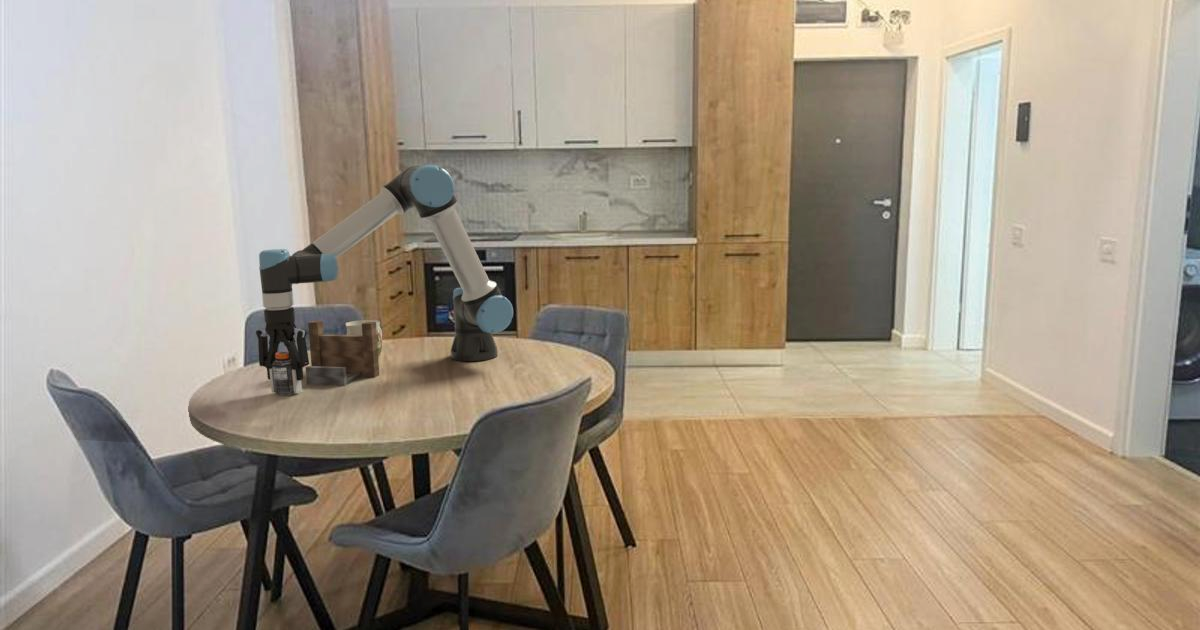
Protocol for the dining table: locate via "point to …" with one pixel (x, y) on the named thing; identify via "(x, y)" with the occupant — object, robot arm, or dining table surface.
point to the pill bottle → (283, 373)
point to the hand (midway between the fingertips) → (286, 391)
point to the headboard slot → (342, 355)
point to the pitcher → (356, 329)
